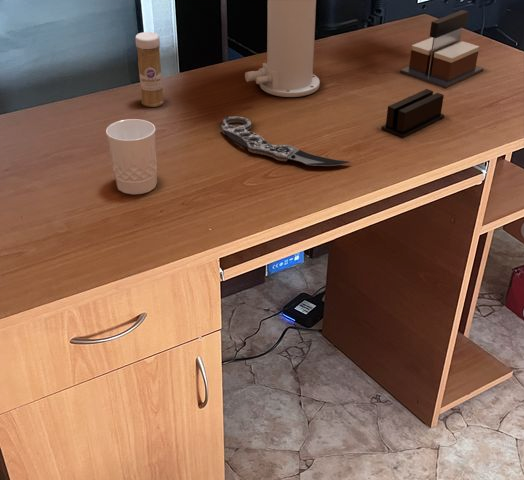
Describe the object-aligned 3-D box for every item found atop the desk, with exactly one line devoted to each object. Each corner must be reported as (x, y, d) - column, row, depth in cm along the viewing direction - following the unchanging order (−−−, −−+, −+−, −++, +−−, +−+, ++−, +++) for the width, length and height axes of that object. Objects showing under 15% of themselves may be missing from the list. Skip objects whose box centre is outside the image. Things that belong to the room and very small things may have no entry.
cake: (445, 88, 165) (449, 61, 161) (399, 72, 171) (403, 46, 167) (483, 70, 172) (488, 44, 168) (438, 56, 179) (442, 31, 175)
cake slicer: (430, 76, 168) (437, 23, 161) (424, 74, 169) (431, 21, 162) (460, 63, 174) (468, 11, 167) (454, 61, 175) (462, 9, 167)
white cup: (140, 201, 128) (134, 144, 122) (103, 188, 132) (95, 132, 125) (169, 181, 134) (165, 126, 127) (133, 169, 137) (127, 114, 130)
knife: (352, 158, 137) (314, 174, 132) (351, 166, 138) (314, 183, 133) (240, 111, 153) (201, 124, 147) (240, 119, 154) (201, 132, 148)
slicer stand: (402, 138, 147) (405, 114, 144) (381, 129, 149) (383, 106, 146) (444, 117, 154) (447, 95, 151) (422, 109, 156) (426, 87, 153)
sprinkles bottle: (145, 109, 156) (138, 40, 147) (139, 100, 159) (132, 32, 150) (167, 105, 157) (162, 37, 148) (160, 97, 160) (155, 29, 152)
